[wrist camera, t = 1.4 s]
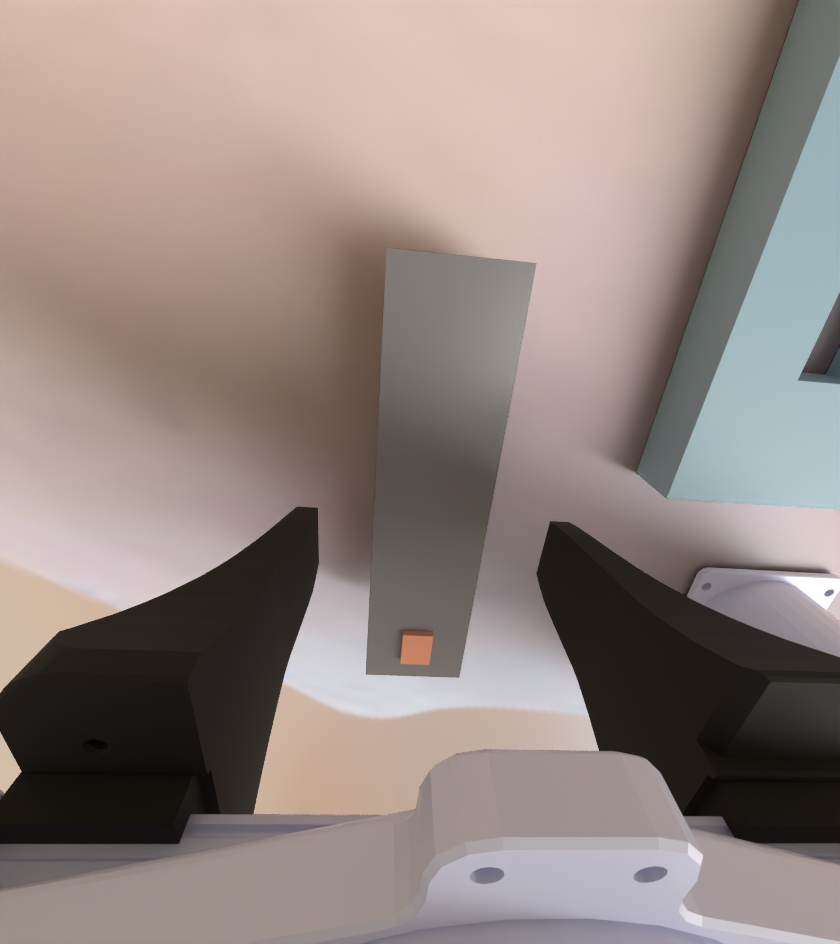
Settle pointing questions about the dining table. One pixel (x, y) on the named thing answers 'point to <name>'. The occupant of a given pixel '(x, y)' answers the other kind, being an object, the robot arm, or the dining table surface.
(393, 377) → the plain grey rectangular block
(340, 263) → the dining table surface
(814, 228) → the light blue board
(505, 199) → the dining table surface
